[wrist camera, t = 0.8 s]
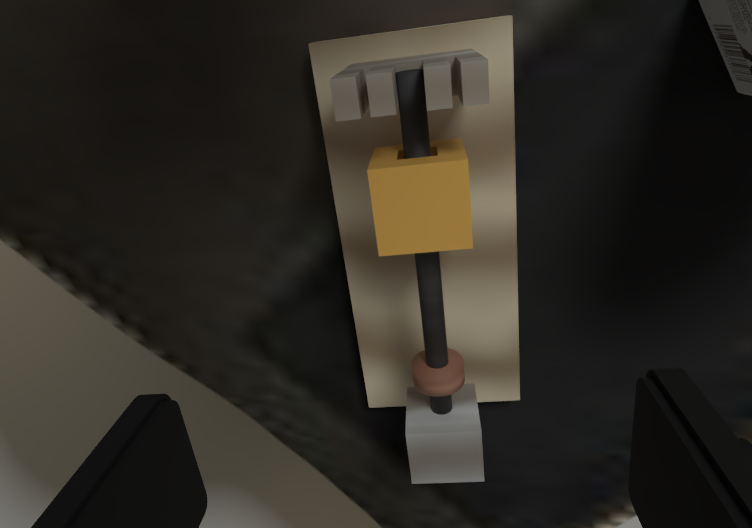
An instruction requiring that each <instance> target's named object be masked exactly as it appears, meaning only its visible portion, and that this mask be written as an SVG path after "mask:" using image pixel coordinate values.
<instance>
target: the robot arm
mask: <svg viewBox="0 0 752 528" xmlns="http://www.w3.org/2000/svg"><path fill="white" fill-rule="evenodd" d="M628 487H629V494H630V499H631V502H632V505H633V507H634V510H635V512H636V514H637V516H638V518H639V521H640V523H641V525H642V527H643V528H752V444H751V443H750V442H749V441H747V440H745V439H743V438H737V437H736V436H735V434H734V433H733V432H732V430H731V429H730V428H729V427H728V425H727V424H726V423H725V421H724V420H723V419H722V418H721V416H720V415H719V414H718V413H717V411H716V410H715V409H714V407H713V406H712V405H711V404H710V402H709V401H708V400H707V398H706V397H705V396H704V395H703V393H702V392H701V391H700V390H699V388H698V387H697V386H696V384H695V383H694V382H693V381H692V379H691V378H690V377H689V375H688V374H687V373H686V372H685V371H684V370H683V369H680V368H675V369H655V370H649V371H648V372H647V374H646V378H639V379H638V380H637V385H636V397H635V409H634V421H633V434H632V446H631V458H630V470H629V483H628ZM206 508H207V494H206V490H205V488H204V484H203V481H202V478H201V475H200V471H199V468H198V465H197V462H196V459H195V456H194V452H193V449H192V446H191V443H190V440H189V436H188V433H187V430H186V427H185V424H184V421H183V417H182V414H181V411H180V408H179V405H178V403H177V402H176V401H174V400H171V398H170V397H169V396H168V395H167V394H152V395H151V394H150V395H139V396H137V397H136V398H135V399H134V400H133V402H131V404H130V405H129V406H128V407H127V409H126V410H125V411H124V412H123V414H122V415H121V416H120V418H119V419H118V420H117V421H116V422H115V424H114V425H113V426H112V427H111V429H110V430H109V431H108V432H107V434H106V435H105V436H104V437H103V439H102V440H101V441H100V442H99V444H98V445H97V446H96V447H95V449H94V450H93V451H92V452H91V454H90V455H89V456H88V457H87V459H86V460H85V461H84V462H83V464H82V465H81V466H80V467H79V468H78V470H77V471H76V472H75V474H74V475H73V476H72V477H71V479H70V480H69V481H68V482H67V484H66V485H65V486H64V487H63V488H62V490H61V491H60V492H59V493H58V495H57V496H56V497H55V498H54V500H53V501H52V502H51V504H50V505H49V506H48V507H47V508H46V510H45V511H44V512H43V514H42V515H41V516H40V517H39V518H38V520H37V521H36V522H35V523H34V525H33V526H32V527H31V528H199V525H200V523H201V521H202V519H203V516H204V514H205V512H206Z"/></svg>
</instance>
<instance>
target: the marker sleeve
mask: <svg viewBox="0 0 752 528" xmlns="http://www.w3.org/2000/svg"><path fill="white" fill-rule="evenodd" d="M430 151H431V156H428V157H419V158H410V159H404V150H403V144H401V145H392V146H383V147H375V148H374V151H373V154H372V157H371V160H370V163H369V166H368V169H367V173H368V181H369V188H370V195H371V202H372V210H373V217H374V224H375V232H376V239H377V246H378V254H379V256H391V255H402V254H414V253H426V252H437V251H449V250H460V249H472V248H473V237H472V220H471V202H470V184H469V167H468V158H467V155H466V151H465V148H464V145H463V142H462V139H461V138H455V139H446V140H437V141H430Z"/></svg>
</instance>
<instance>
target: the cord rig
mask: <svg viewBox="0 0 752 528" xmlns="http://www.w3.org/2000/svg"><path fill="white" fill-rule="evenodd" d="M308 45H309V51H310V57H311V63H312V69H313V75H314V81H315V87H316V93H317V99H318V105H319V111H320V117H321V123H322V129H323V135H324V141H325V147H326V153H327V159H328V165H329V171H330V177H331V183H332V189H333V195H334V201H335V207H336V213H337V219H338V225H339V231H340V237H341V243H342V249H343V255H344V261H345V267H346V273H347V279H348V285H349V291H350V297H351V303H352V309H353V315H354V321H355V327H356V333H357V339H358V345H359V351H360V357H361V363H362V369H363V375H364V381H365V387H366V393H367V399H368V405H369V408H377V407H396V406H406V432H405V435H406V442H407V450H408V457H409V465H410V472H411V479H412V484H421V483H450V482H479V481H484V467H483V450H482V433H481V425H480V418H479V411H478V405H477V402H493V401H512V400H520V378H519V326H518V275H517V224H516V173H515V122H514V71H513V19H512V16H501V17H493V18H486V19H479V20H472V21H464V22H457V23H450V24H442V25H435V26H428V27H421V28H413V29H406V30H399V31H392V32H384V33H377V34H370V35H362V36H355V37H348V38H341V39H333V40H326V41H319V42H312V43H309V44H308ZM455 138H461V139H462V142H463V145H464V148H465V151H466V155H467V158H468V167H469V184H470V202H471V220H472V237H473V248H472V249H460V250H449V251H437V252H426V253H414V254H402V255H391V256H379V254H378V246H377V239H376V232H375V224H374V217H373V210H372V202H371V195H370V188H369V181H368V173H367V169H368V166H369V163H370V160H371V157H372V154H373V151H374V148H375V147H383V146H392V145H401V144H403V150H404V159H410V158H419V157H428V156H431V151H430V141H437V140H446V139H455Z"/></svg>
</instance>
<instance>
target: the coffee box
mask: <svg viewBox="0 0 752 528" xmlns="http://www.w3.org/2000/svg"><path fill="white" fill-rule="evenodd" d="M698 1H699V3H700V5H701V8H702V10H703V13H704V15H705V17H706V20H707V22H708V24H709V27H710V29H711V31H712V34H713V36H714V39H715V41H716V43H717V46H718V48H719V50H720V53H721V55H722V57H723V60H724V62H725V65H726V67H727V69H728V72H729V74H730V76H731V79H732V81H733V83H734V86H735V88H736V90H737V92H738V93H741V94H746V95H750V96H752V0H698Z"/></svg>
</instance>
